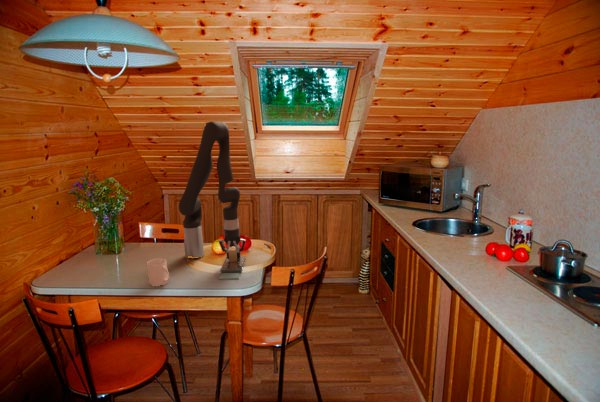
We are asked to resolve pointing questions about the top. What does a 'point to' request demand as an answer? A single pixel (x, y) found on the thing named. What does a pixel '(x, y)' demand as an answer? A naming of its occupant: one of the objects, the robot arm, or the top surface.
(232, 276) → the pad
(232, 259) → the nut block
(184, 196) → the robot arm
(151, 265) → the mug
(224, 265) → the rail plate
